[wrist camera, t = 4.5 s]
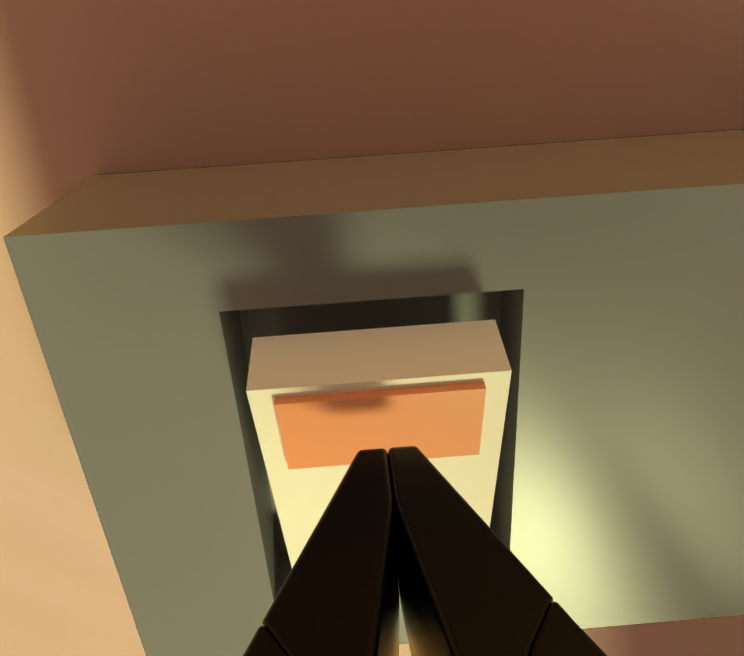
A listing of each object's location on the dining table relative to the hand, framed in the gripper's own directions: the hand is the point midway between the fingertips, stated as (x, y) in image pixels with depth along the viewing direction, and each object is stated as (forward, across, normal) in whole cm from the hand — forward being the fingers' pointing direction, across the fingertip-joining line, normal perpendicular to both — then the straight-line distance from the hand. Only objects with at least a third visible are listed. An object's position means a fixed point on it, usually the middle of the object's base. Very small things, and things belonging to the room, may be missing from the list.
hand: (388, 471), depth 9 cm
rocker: (+2, 0, +2) cm, 3 cm away
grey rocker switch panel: (+6, -6, +2) cm, 9 cm away
